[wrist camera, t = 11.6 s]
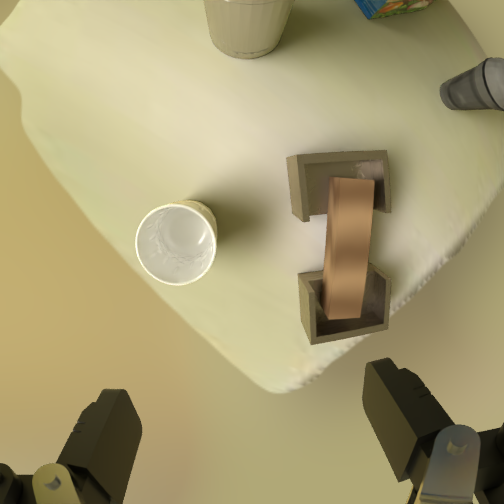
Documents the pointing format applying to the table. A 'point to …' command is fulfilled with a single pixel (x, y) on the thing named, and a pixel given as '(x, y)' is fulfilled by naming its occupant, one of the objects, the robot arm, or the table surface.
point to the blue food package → (390, 7)
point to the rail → (347, 246)
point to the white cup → (177, 242)
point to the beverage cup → (476, 87)
